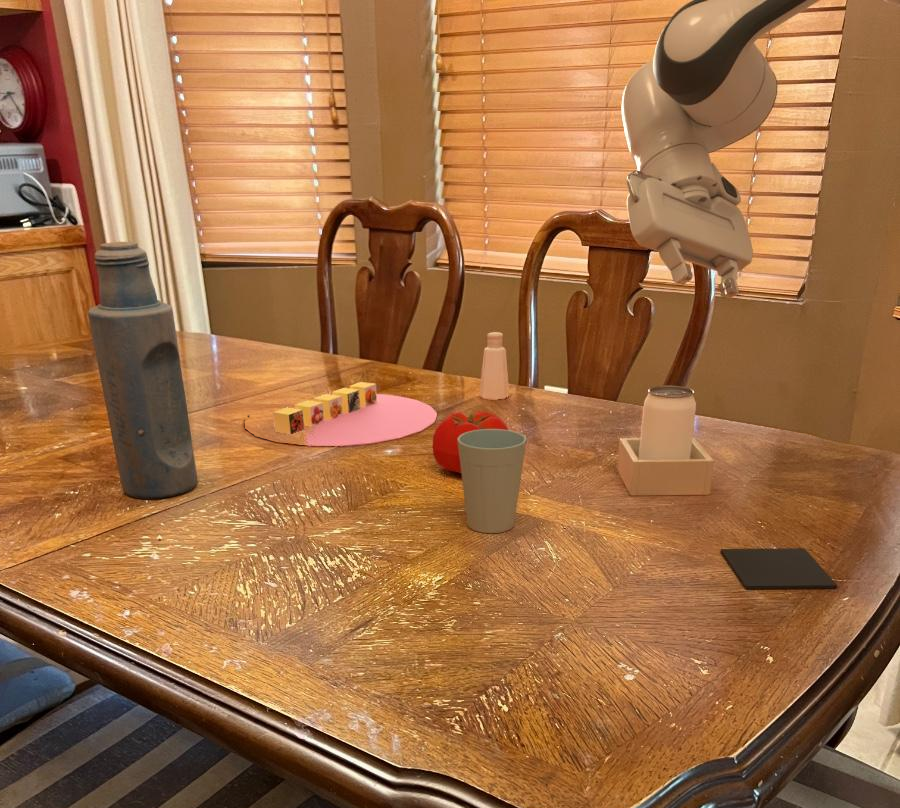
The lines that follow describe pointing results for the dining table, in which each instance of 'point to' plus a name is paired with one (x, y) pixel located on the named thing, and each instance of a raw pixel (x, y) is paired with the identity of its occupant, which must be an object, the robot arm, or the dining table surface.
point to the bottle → (141, 376)
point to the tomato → (453, 428)
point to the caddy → (664, 471)
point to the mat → (777, 569)
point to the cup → (491, 477)
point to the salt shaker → (494, 369)
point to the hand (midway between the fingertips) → (707, 288)
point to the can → (667, 423)
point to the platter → (355, 417)
